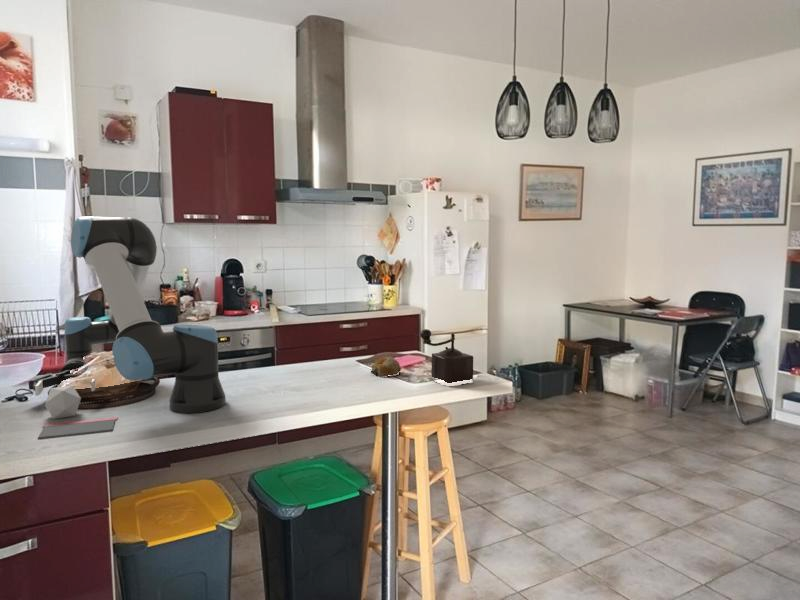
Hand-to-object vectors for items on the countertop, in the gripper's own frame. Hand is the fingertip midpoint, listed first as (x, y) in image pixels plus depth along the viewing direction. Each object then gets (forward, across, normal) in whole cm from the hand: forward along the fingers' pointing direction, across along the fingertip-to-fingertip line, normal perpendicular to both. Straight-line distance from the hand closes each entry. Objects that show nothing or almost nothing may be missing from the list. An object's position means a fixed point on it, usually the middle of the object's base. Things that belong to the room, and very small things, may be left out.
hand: (65, 388), depth 161 cm
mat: (+20, -5, -6) cm, 22 cm away
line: (+14, -5, -6) cm, 17 cm away
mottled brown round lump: (-7, -98, -6) cm, 98 cm away
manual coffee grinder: (+11, -112, -6) cm, 113 cm away
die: (+7, 0, -6) cm, 9 cm away
